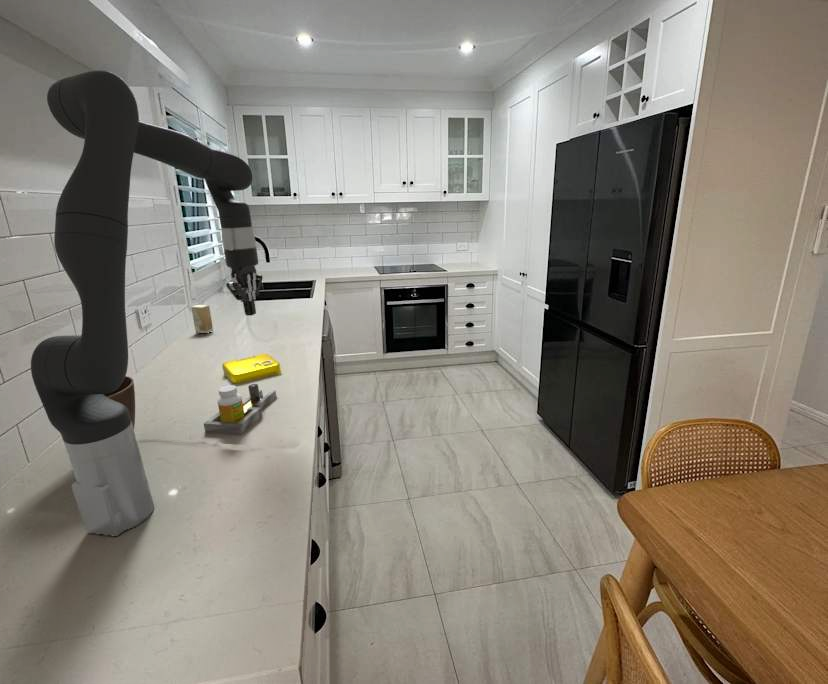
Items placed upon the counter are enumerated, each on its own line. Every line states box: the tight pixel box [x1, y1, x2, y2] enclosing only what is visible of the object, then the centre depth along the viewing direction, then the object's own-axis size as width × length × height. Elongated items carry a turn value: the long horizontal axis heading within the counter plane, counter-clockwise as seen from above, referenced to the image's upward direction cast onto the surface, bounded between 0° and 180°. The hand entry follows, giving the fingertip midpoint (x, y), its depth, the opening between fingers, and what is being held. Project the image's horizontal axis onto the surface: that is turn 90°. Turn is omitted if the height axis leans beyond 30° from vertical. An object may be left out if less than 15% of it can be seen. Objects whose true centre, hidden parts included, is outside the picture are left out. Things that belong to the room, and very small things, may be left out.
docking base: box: [203, 389, 277, 436], centre depth 110 cm, size 24×13×3 cm, turn 169°
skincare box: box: [190, 304, 214, 334], centre depth 187 cm, size 6×4×12 cm
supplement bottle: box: [217, 384, 245, 423], centre depth 103 cm, size 5×5×10 cm
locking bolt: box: [243, 383, 262, 417], centre depth 110 cm, size 8×2×6 cm, turn 169°
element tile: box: [221, 353, 282, 384], centre depth 138 cm, size 15×15×5 cm
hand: (250, 314), depth 110 cm, fingers closed
